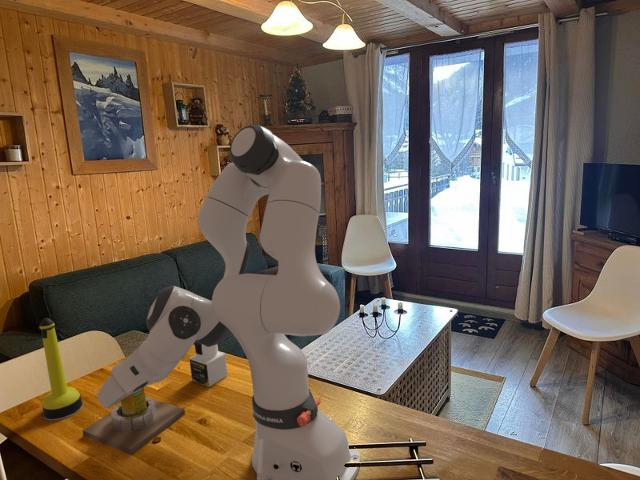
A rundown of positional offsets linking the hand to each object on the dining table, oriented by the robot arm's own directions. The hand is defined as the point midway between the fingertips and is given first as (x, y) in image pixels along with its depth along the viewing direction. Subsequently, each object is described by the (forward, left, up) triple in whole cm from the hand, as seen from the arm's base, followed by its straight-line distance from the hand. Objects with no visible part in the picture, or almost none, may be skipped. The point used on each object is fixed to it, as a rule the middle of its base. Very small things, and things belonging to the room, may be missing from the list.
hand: (130, 391), depth 106 cm
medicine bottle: (-3, -24, -9) cm, 25 cm away
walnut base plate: (-1, 0, -8) cm, 8 cm away
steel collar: (-1, 0, -7) cm, 7 cm away
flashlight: (+22, +3, -9) cm, 24 cm away
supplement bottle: (-1, 0, -6) cm, 6 cm away
